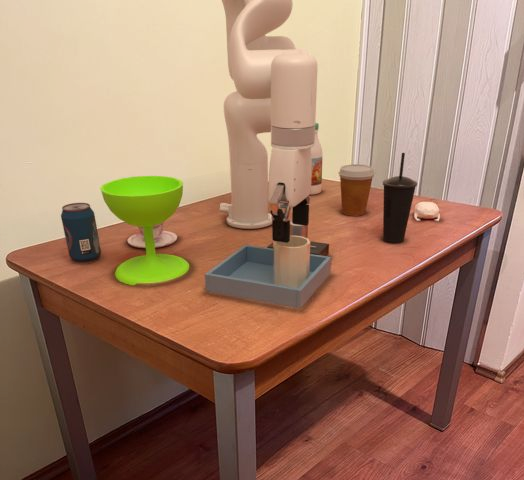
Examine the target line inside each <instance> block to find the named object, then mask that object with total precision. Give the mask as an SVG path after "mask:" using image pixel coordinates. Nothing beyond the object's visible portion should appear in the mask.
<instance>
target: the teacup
mask: <svg viewBox="0 0 524 480" xmlns="http://www.w3.org/2000/svg"><path fill="white" fill-rule="evenodd" d="M163 224H164V222H163V223H160V224H157V225H155V226H152V228H153V237H154V245H155V249H157V248H162V247H166V246H169V245H172V244H174V243H175V242H177V240H178V235H177V234H176V233H175V232H172V231H169V230H163V229H164V225H163ZM137 228H138V230H139V232H137V233H134V234H132V235H130V236H129V237H128V238H127V240H126V241H127V244H128V245H129V246H131V247H135V248H139V249H146V247H145V240H144V232H143V227H139V226H137Z"/></svg>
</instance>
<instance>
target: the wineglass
mask: <svg viewBox="0 0 524 480" xmlns="http://www.w3.org/2000/svg"><path fill="white" fill-rule="evenodd" d="M99 189H100V192H101V195H102V198H103V201H104V203H105V204H106V206H107V208H108V209H109V211H110V212H111V213H112V214H113V215H114V216H115V217H116V218H117V219H119V220H120V221H122V222H124V223H126V224H128V225H131V226H134V227H138V226H139V227H143V232H144V240H145V247H146V248H145V254H142V255H139V256H134V257H131V258H128V259H127V260H125V261H123V262H121V263H120V264H119V265H118V266H117V267H116V270H115V272H114V276H115V279H116V280H117V281H119V282H120V283H123V284H125V285H130V286H136V285H138V284H155V283H157V284H158V283H163V282H167V281H171V280H174V279H177V278H179V277H182V276H183V275H185V274H187V272H188V271H189V269H190V264H189V262H188V261H187V260H186V259H185V258H183V257H181V256H177V255H174V254H168V253H156V248H155V245H154V237H153V228H152V226H155V225H157V224H160V223H163V224H164V222H167V220H168V219H169V218H171V217H172V216H173V215H174V214H175V213H176V211H177V210H178V208H179V206H180V204H181V202H182V198H183V194H184V193H183V192H184V182H183V181H182V180H181V179H179V178H176V177H172V176H167V175H166V176H165V175H138V176H129V177H122V178H118V179H113V180H110V181H107V182H106V183H104V184H102V185H101V187H100V188H99Z"/></svg>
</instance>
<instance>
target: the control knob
mask: <svg viewBox="0 0 524 480" xmlns="http://www.w3.org/2000/svg"><path fill="white" fill-rule="evenodd" d="M308 232H309V224H308V225H307V226H304V225H297V224H293V223H292V220H290V236H291V235H295V236H302V237H305V238H307V239H309V238H308V236H309V235H308V234H309V233H308Z"/></svg>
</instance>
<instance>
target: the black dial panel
mask: <svg viewBox="0 0 524 480" xmlns="http://www.w3.org/2000/svg"><path fill="white" fill-rule="evenodd" d="M309 241H310V254H314V255H321V256H329V254H330V253H329V252H330V243H326V242H320V241H311V240H309ZM266 248H272V249H273V242H271V243H270V244H268V245H267V246H266Z"/></svg>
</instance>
